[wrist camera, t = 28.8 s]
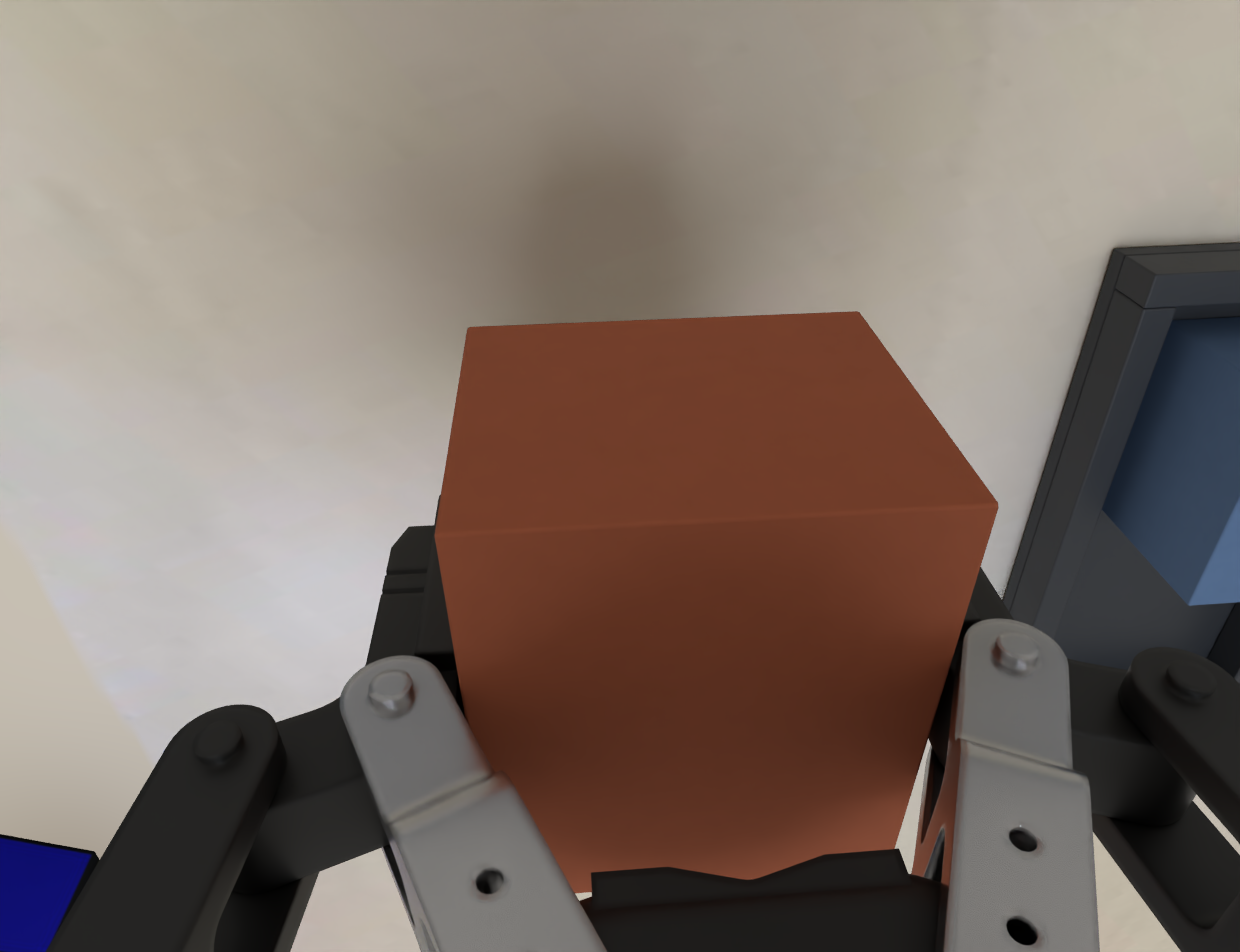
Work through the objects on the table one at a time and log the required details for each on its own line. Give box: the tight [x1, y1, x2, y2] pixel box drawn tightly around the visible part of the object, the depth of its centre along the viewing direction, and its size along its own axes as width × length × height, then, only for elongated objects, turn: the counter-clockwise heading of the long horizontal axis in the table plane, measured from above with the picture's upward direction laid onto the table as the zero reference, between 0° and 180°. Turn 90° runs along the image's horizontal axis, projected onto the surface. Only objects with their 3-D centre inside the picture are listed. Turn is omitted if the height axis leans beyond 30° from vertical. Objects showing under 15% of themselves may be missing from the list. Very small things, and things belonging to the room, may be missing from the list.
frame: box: [1003, 243, 1240, 683], centre depth 30 cm, size 19×10×2 cm, turn 1°
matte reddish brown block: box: [434, 312, 998, 893], centre depth 13 cm, size 7×6×5 cm
